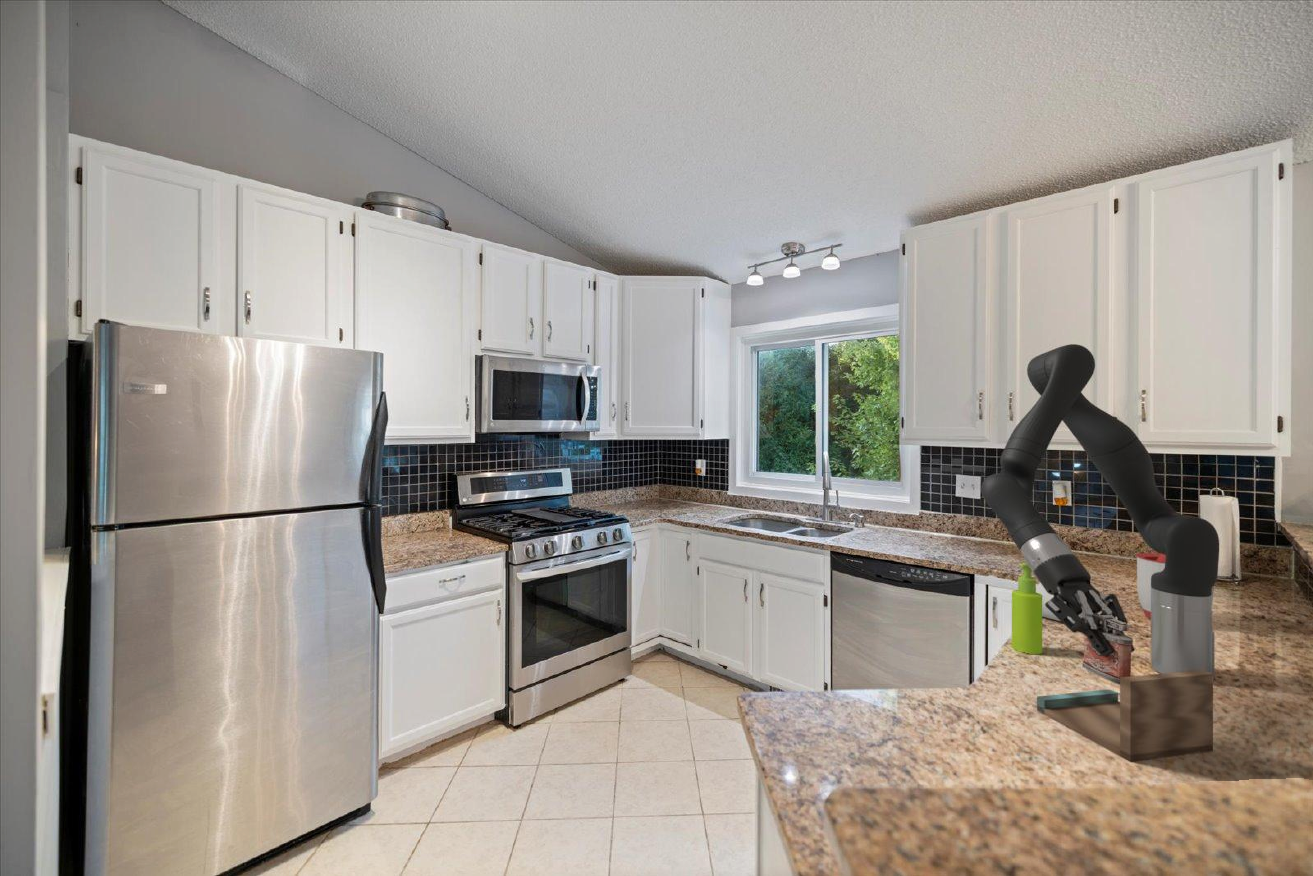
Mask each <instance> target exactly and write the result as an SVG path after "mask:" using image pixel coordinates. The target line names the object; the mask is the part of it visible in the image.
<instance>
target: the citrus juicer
mask: <svg viewBox="0 0 1313 876" xmlns="http://www.w3.org/2000/svg"><path fill="white" fill-rule="evenodd" d="M1135 557H1136V587H1137V588H1136V589H1137V596H1138V601H1139V602H1140V606H1141V610H1142V612H1143V614H1144V615H1145V617H1147V618H1149V619H1151V576H1152V575H1153V574H1154V573H1157V572H1161V571H1163V569H1164V568H1165V559H1166V555H1164V554H1161V553H1158V552H1156V553H1151V552H1150V553H1149V552H1142V553H1137V554H1135ZM1213 599H1214V586H1213V587H1212V603H1213V601H1214V600H1213Z"/></svg>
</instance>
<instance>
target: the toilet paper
mask: <svg viewBox="0 0 1313 876" xmlns="http://www.w3.org/2000/svg"><path fill="white" fill-rule="evenodd" d="M1036 593H1039V594H1041V595H1042V618H1047V619H1049V620H1054V621H1057V622H1061V621H1060V620H1059V619H1058V618H1057V617H1056V616H1055V615H1054V614H1053V613H1052V612H1051V611H1050V610H1049V609H1048V608H1047V607H1046V606H1045V603H1046V602H1048V601H1049V600H1050V599H1052V598H1053V597H1054V596H1053V595H1051V594H1049V593H1047V591H1046V590H1045V588H1044V587H1043V586H1042V584H1041V583H1040V582H1039V583H1038V584H1037V585H1036ZM1067 618H1068V619H1069V620H1070V621H1071V622H1072V623H1073V624H1074V622H1073V621H1072V619H1071V618H1070V617H1067ZM1061 623H1062V622H1061ZM1085 623H1086V621H1085Z"/></svg>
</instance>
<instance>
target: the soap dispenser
mask: <svg viewBox="0 0 1313 876" xmlns="http://www.w3.org/2000/svg"><path fill="white" fill-rule="evenodd" d="M1018 566H1019V567H1021V568H1022V575H1020V576H1018V578H1017V586H1018V587H1017V589H1015V590H1012V591H1011V649H1013V650H1014V651H1016V650H1019V651H1022V652H1025V653H1024V654H1026V653H1029V654H1028V655H1035V654H1037V655H1041V654H1043V617H1042V595H1041V594H1039V593H1036V587H1037V582H1036V581H1037V580H1036V578H1034V577H1033V576H1032V570H1031V568H1030V567H1029V565H1028V564H1027V562H1025V563H1024V562H1019V563H1018ZM1019 651H1018V652H1019ZM1022 652H1021V653H1022Z"/></svg>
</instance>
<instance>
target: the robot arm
mask: <svg viewBox="0 0 1313 876" xmlns="http://www.w3.org/2000/svg"><path fill="white" fill-rule="evenodd" d="M1095 369H1096V360H1095V357H1094V354H1092V352H1091V351H1090V350H1089V349H1088V348H1087V347H1085V346H1084V345H1081V344H1075V343H1074V344H1073V343H1070V344H1066V345H1062V346H1059V347H1056V348H1054V349H1051V350H1049V351H1046V352H1042V353H1041V354H1039V355H1037V356H1035V357H1033V358H1032V359H1030V361H1029V363H1028V364H1027V369H1026V374H1027V377H1028V381H1029V382H1030V384H1031V385H1032V387H1033V389H1034V390H1035V391H1036V392H1037V393H1038V394H1039V398H1038V400H1037V401H1036V402H1035V404H1034V405H1033V406H1032V407H1031V408H1030V409H1029V411H1028V412H1027V413H1026V414H1025V415H1024V416H1023V417H1022V418H1021V420H1020V421H1019V422H1018V423H1017V425H1016V426H1015V428H1014V429H1013V431H1012V433H1010V436H1009V438H1008V440H1007V442H1006V445H1005V447H1004V449H1003V451H1002V453H1001V456H1000V461H999V462H1000V469H1001V470H1000V473H999V472H998V473H993V474H991V475H988V476H987V477H986V478H985V479H984V480H983V482H982V484H981V487H980V491H981V495H982V497H983V499H984V500H985V502H986V504H987V505H988V506H989V508H990V509H991V510H992V512H994V514H995V515H996V516H997V518H998V519H999V520H1000V522H1001V523H1002V524H1003V525H1004V526H1005V527H1004V528H1005V529H1006V531H1007V533H1008V534H1009V537H1010V538H1011V540H1012V542H1013V543H1014V544H1015V545H1016V547H1017V548H1018V550H1019V551H1020V552H1021V554H1022V557H1023V559H1024V560H1025V563H1027V564H1028V565H1029V567H1030V568H1031V572H1032V573H1033V574H1034V576H1035V577H1036V578H1037V580H1038V581H1039V583H1041V584H1042V586H1043V587H1044V588H1045V590H1046V591H1047V593H1049V594H1051V595H1053V596H1054V597H1053V598H1052V599H1050V600H1049V601H1048V602H1046V603H1045V606H1046V607H1047V608H1048V609H1049V610H1050V611H1051V612H1052V613H1053V614H1054V615H1055V616H1056V617H1057V618H1058V619H1059V620H1060V621H1061V623H1062V624H1063V625H1064V626H1065V627H1066V628H1067V629H1069V631H1071V632H1072V633H1081V635H1083V636H1084V635H1085V636H1087V638H1088V639H1089V640H1090V642H1091V643H1092V644H1093V646H1094V648H1095V649H1096V650H1097V651H1098V652H1099V653H1100V654H1101V655H1102V656H1109V655H1110V654H1112V653H1114V649H1113V647H1112V646H1111V644H1110V643H1109V642H1108V640H1107V639H1106V638H1105V636H1104V635H1103V633H1102V632H1101V631H1100V630H1096V629H1097V628H1098V627H1097V625H1096V623H1095V621H1094V620H1093V613H1095V614H1099V613H1100V612H1101V613H1100V614H1099V615H1109V616H1111V617H1112V618H1113V619H1116V620H1119V621H1121V622H1124V623H1126V624H1127V625H1128V623H1129V622H1128V620H1127V618H1126V615H1125V614H1124V613H1125V612H1124V610H1123V608H1122V606H1121V604H1120V600H1118V597H1117V596H1116V595H1115V593H1110V594H1108V595H1106V594H1102V593H1100V591H1099V590H1097V588H1096V587H1094V586H1093V585H1092V584H1091V578H1092V576H1091V574H1090V572H1089V571H1088V570H1087V569H1086V568H1085V566H1084V565H1083V564H1082V562H1081V561H1080V560H1079V558H1078V557H1077V556H1076V554H1075V553H1074V552H1073V551H1072V549H1071V548H1070V546H1069V545H1068V544H1067V543H1066V542H1065V541H1064V540H1063V539H1062V538H1061V537H1060V536H1059V535H1058V533H1057V532H1056V531H1055V530H1054V528H1053V527H1052V526H1051V524H1050V523H1049V522H1048V520H1047V519H1046V518H1045V517H1044V516H1043V515H1042V514H1041V513H1040V511H1038V510H1037V508H1036V506H1035V505H1034V503H1033V501H1032V500H1031V497H1032V493H1033V489H1034V485H1035V481H1036V480H1035V479H1036V475H1037V472H1038V469H1039V467H1040V465H1041V463H1042V461H1043V459H1044V457H1045V454H1046V453H1047V450H1048V448H1049V446H1050V444H1051V442H1052V439H1053V438H1054V436H1055V433H1056V431H1057V430H1058V428H1059V427H1060V425H1061V423H1062V422H1063V423H1064V424H1065V425H1066V427H1067V429H1068V430H1069V431H1070V433H1071V434H1072V435H1073V436H1074V437H1075V439H1076V441H1077V442H1078V443H1079V445H1080V446H1081V447H1082V448H1083V450H1084V451H1085V453H1086V456H1087V457H1088V458H1089V460H1090V461H1091V462H1092V463H1093V465H1094V466H1095V468H1096V469H1097V471H1098V472H1099V473H1100V474H1101V475H1102V477H1103V478H1104V479H1105V482H1107V484H1108V485H1109V487H1110V488H1111V489H1112V491H1113V492H1114V494H1115V495H1116V496H1117V497H1118V499H1119V501H1121V503H1122V505H1123V506H1124V507H1125V509H1126V510H1127V511H1126V512H1127V513H1128V515H1129V516H1130V518H1131V520H1132V522H1133V524H1134V525H1135V527H1136V529H1137V531H1138V533H1139V534H1140V536H1141V538H1142V540H1143V541H1144V542H1145V544H1146V545H1147V546H1148V547H1149V548H1150V549H1152V550H1153V551H1154V552H1156V553H1157V554H1164V555H1166V559H1165V568H1164V569H1163V571H1161V572H1157V573H1154V574H1153V575H1152V576H1151V618H1150V668H1151V669H1152V670H1154V671H1155V672H1157V673H1158V674H1163V673H1174V672H1185V671H1195V670H1204V671H1207V672H1209V673H1212V674H1213V678H1215V631H1214V630H1213V629H1212V628H1213V626H1212V625H1213V623H1212V622H1213V617H1212V616H1213V611H1212V609H1213V607H1212V606H1213V602H1212V587H1213V588H1214V586H1215V584H1216V583H1217V579H1218V573H1219V561H1220V538H1219V534H1218V531H1217V529H1216V528H1215V527H1214V525H1213V524H1212V523H1211V522H1209V521H1208V520H1206V519H1204V518H1202V517H1199V516H1198V517H1197V516H1195V515H1194V516H1192V515H1187V514H1181V513H1178V512H1177V511H1176V510H1175V509H1174V508H1173V507H1172V506H1171V505H1170V504H1169V503H1168V501H1167V500H1166V498H1165V497H1164V496H1163V495H1162V493H1161V492H1160V490H1159V489H1158V485H1157V484H1156V480H1155V470H1154V464H1153V460H1152V458H1151V457H1152V456H1151V455H1150V453H1149V451H1148V450H1147V448H1146V446H1145V445H1144V443H1142V441H1141V440H1140V438H1139V437H1138V436H1137V434H1136V433H1135V432H1134V431H1133V429H1132V428H1131V427H1129V426H1128V425H1127V424H1126V423H1124V422H1123V421H1121V420H1119V419H1118V418H1117V417H1115V416H1114V415H1111V414H1109V413H1108V412H1107V411H1104V410H1102V409H1101V408H1099V407H1098V406H1097V405H1095V404H1093V403H1092V402H1091V401H1090V400H1089V399H1088V398H1086V396H1085V395H1084V394H1083V393H1082V392H1083V390H1084V389H1085V387H1086V386H1087V385H1088V383H1089V382H1090V381H1091V379H1092V377H1093V375H1094V373H1095ZM1067 617H1070V618H1071V619H1072V621H1073V622H1074V624H1073V623H1072V622H1071V621H1070V620H1069V619H1068V618H1067ZM1060 621H1059V622H1060ZM1085 621H1086V623H1085ZM1120 633H1122V634H1124V635H1126V634H1125V631H1120ZM1133 644H1134V643H1133ZM1133 644H1131V653H1134V651H1135V647H1134V645H1133Z"/></svg>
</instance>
